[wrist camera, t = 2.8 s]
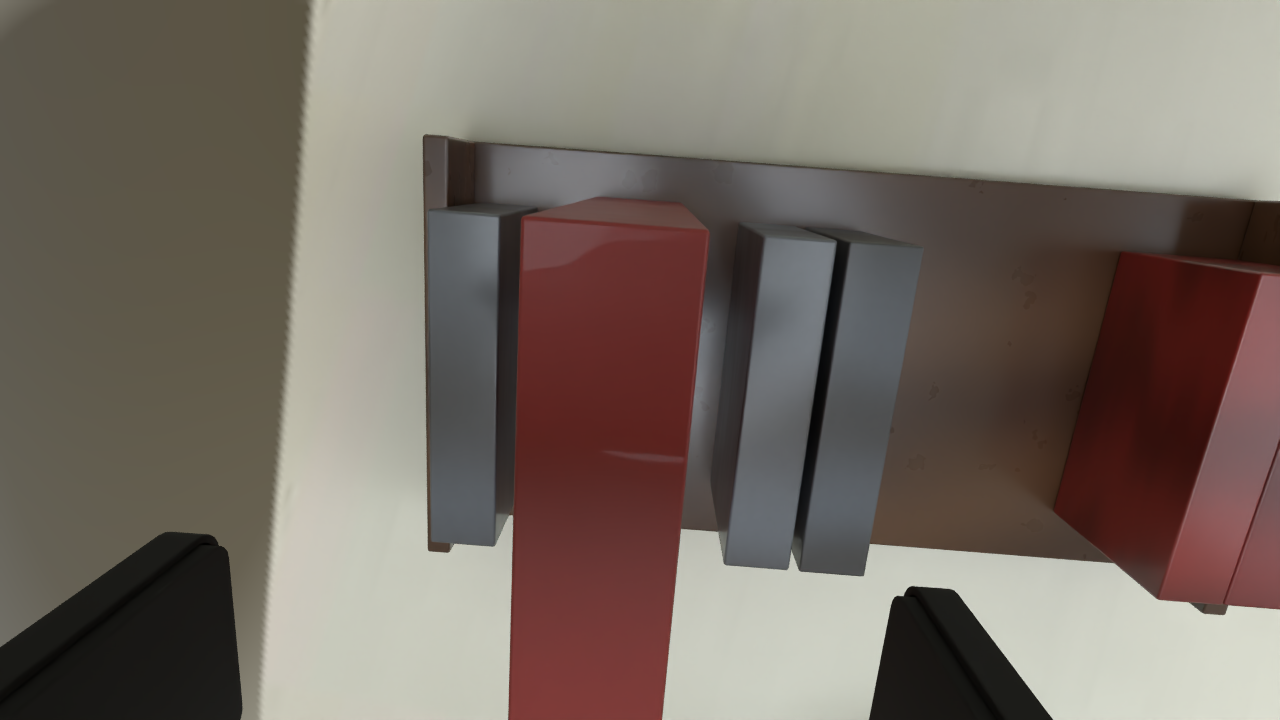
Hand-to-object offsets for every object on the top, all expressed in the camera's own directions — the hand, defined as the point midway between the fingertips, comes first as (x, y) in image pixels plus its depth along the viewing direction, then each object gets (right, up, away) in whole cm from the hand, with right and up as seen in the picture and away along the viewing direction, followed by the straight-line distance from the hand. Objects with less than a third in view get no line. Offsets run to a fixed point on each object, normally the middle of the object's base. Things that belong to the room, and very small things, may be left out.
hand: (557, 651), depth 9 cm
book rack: (+8, +4, +16) cm, 18 cm away
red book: (+1, +4, +15) cm, 16 cm away
